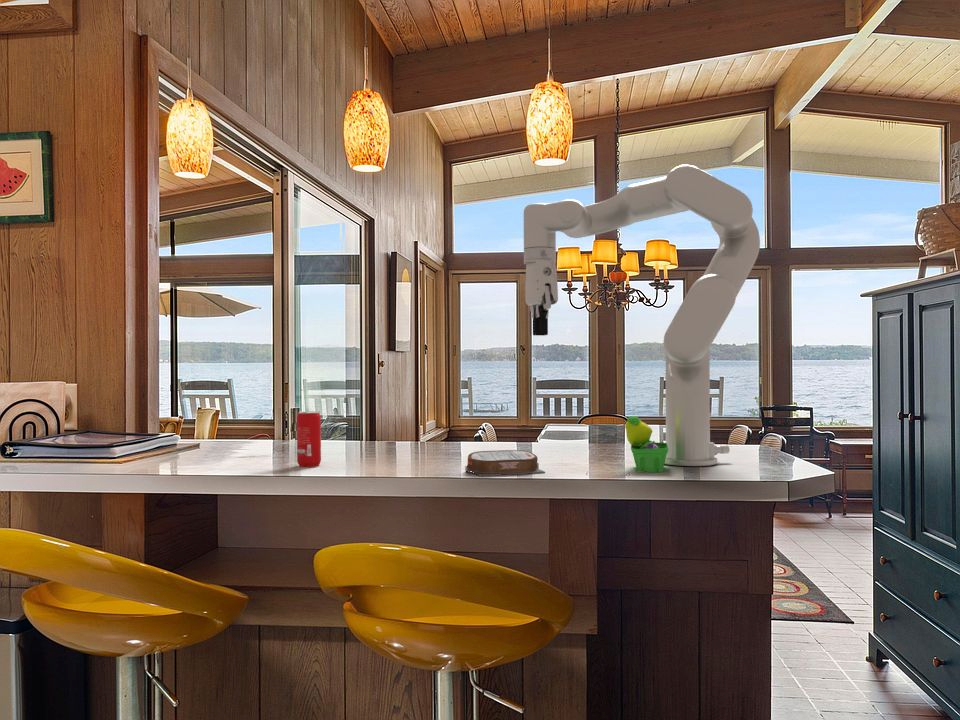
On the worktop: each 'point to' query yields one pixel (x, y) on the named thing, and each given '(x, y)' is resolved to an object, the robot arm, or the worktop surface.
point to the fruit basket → (645, 446)
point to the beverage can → (309, 439)
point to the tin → (502, 461)
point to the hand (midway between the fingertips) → (540, 335)
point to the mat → (508, 473)
